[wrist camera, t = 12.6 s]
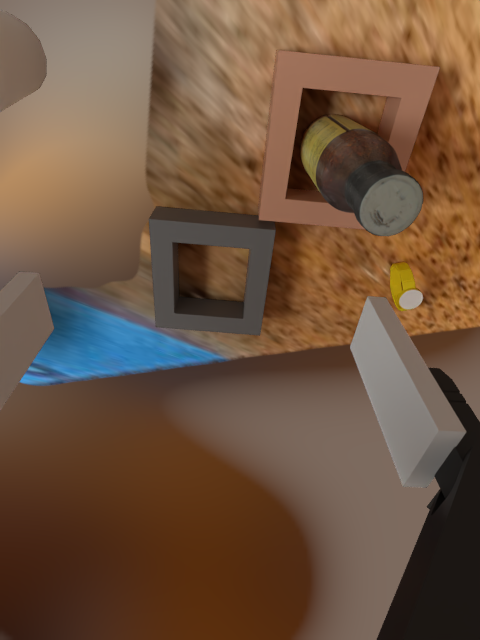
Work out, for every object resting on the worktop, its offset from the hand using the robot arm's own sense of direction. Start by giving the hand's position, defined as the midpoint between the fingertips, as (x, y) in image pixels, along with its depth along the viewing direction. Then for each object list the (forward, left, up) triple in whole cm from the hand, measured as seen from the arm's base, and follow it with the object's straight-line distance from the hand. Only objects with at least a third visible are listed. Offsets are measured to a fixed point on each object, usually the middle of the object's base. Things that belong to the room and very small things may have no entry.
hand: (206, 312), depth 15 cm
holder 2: (+10, +2, -30) cm, 32 cm away
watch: (+22, -13, -31) cm, 40 cm away
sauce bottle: (+10, +1, -31) cm, 32 cm away
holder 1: (-2, -14, -30) cm, 34 cm away
